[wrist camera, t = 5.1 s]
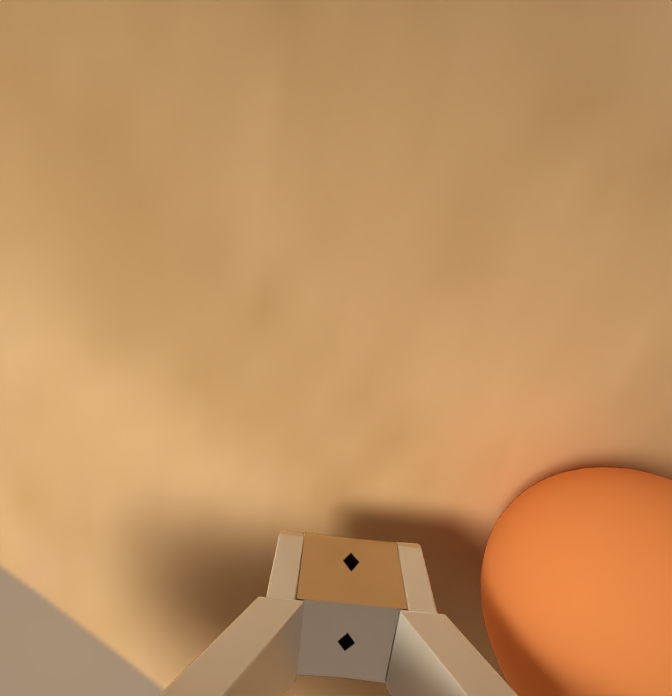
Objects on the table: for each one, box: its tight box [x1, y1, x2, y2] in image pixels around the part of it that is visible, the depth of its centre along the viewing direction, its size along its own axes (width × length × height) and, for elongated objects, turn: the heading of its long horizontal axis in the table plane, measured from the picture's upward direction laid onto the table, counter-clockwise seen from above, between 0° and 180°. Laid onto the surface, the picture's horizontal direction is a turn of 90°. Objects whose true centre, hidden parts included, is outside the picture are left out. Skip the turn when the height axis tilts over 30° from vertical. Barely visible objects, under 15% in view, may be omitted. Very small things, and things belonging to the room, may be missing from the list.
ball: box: [481, 467, 672, 696], centre depth 8 cm, size 6×6×6 cm
